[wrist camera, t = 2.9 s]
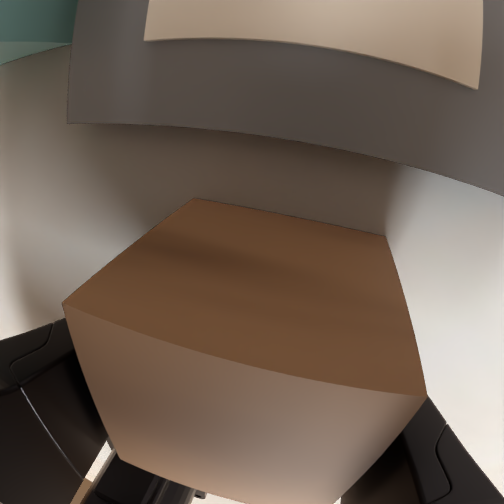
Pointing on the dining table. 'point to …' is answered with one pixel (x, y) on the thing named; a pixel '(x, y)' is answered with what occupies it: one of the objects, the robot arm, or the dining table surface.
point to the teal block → (34, 26)
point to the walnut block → (250, 353)
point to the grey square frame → (305, 74)
